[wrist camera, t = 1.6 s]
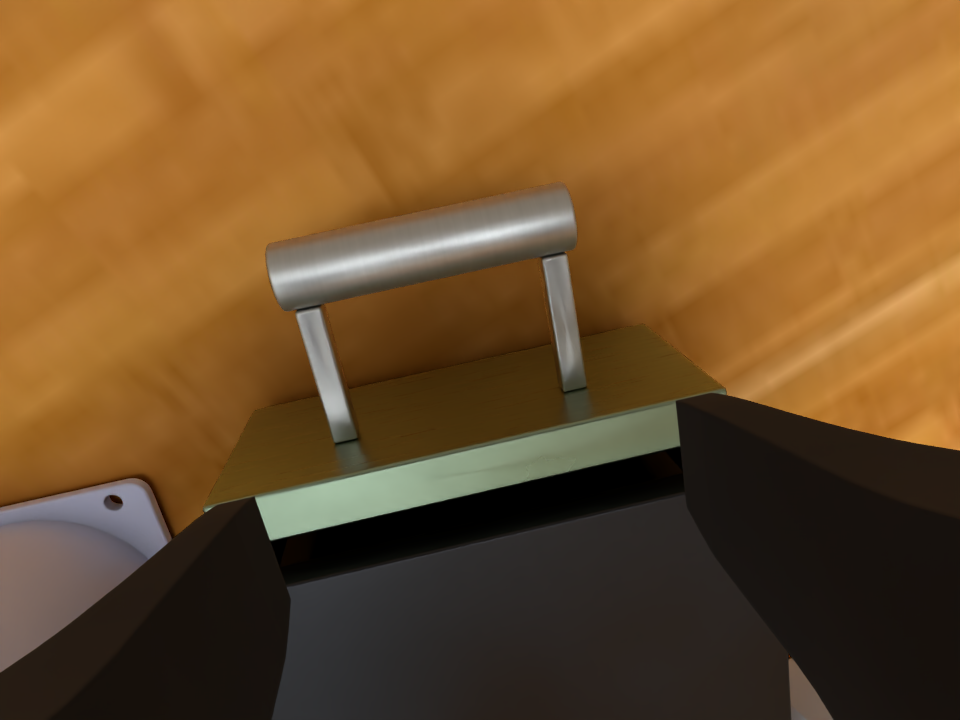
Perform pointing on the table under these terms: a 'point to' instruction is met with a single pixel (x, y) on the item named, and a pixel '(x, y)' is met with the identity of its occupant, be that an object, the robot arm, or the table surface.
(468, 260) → the drawer
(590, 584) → the black box
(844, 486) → the robot arm
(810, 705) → the pale two-lobed sculpture
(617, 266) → the table surface
